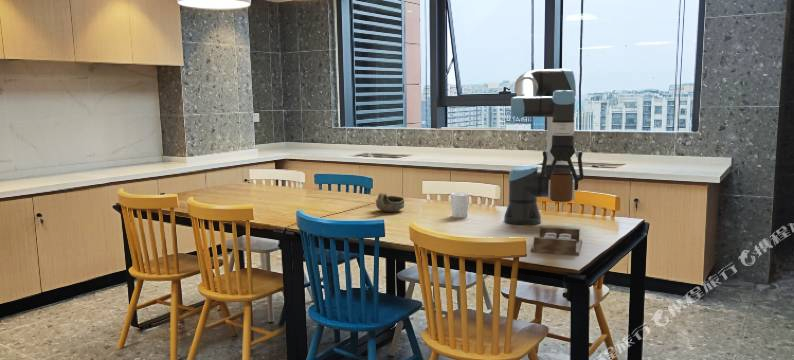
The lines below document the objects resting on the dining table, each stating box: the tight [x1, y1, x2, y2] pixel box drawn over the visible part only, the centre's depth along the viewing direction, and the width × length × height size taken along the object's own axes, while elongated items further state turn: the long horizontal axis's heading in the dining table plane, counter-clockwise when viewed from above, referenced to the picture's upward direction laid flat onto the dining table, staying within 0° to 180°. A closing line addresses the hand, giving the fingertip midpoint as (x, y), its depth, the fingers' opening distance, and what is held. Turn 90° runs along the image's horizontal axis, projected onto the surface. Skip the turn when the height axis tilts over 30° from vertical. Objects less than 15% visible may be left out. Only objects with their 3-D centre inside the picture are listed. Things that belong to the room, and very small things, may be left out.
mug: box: [549, 173, 573, 203], centre depth 225 cm, size 12×8×9 cm, turn 153°
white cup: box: [450, 192, 470, 219], centre depth 280 cm, size 8×8×10 cm
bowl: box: [374, 192, 405, 213], centre depth 292 cm, size 14×18×10 cm
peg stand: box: [530, 226, 583, 256], centre depth 225 cm, size 16×19×5 cm
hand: (561, 198), depth 225 cm, fingers closed on mug, 7 cm apart
